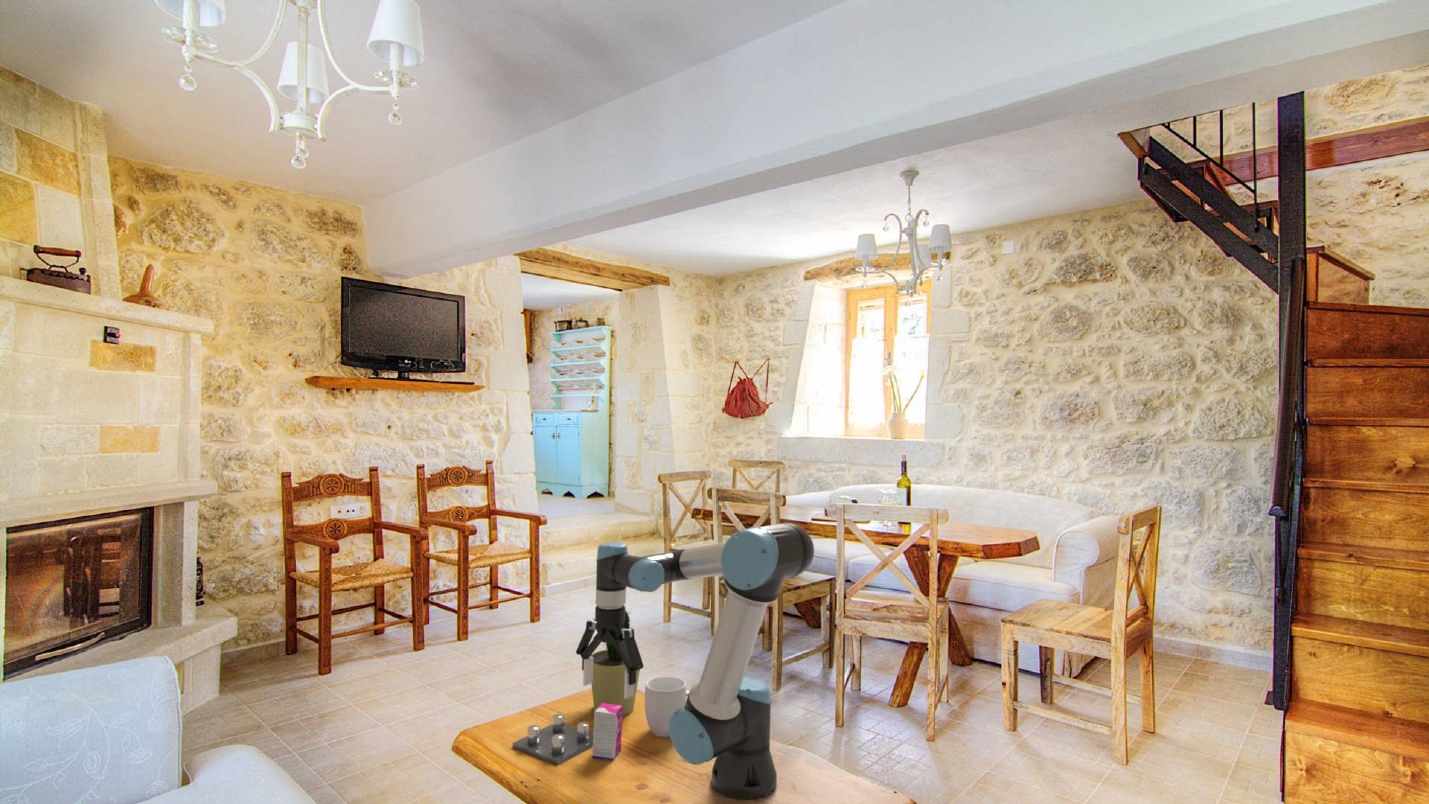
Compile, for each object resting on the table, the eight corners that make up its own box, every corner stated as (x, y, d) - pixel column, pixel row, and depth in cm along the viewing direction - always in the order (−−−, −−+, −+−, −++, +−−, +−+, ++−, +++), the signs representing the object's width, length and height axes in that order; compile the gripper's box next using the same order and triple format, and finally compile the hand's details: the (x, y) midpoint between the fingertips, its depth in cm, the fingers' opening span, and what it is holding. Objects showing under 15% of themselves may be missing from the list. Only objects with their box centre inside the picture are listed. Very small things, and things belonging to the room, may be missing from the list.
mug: (695, 721, 196) (696, 674, 196) (703, 738, 185) (704, 688, 185) (641, 725, 192) (642, 677, 193) (646, 743, 182) (647, 692, 182)
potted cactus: (595, 696, 212) (597, 596, 212) (645, 699, 210) (647, 598, 211) (580, 718, 196) (582, 610, 197) (634, 721, 195) (636, 612, 195)
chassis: (602, 740, 183) (603, 723, 183) (557, 765, 169) (558, 746, 170) (558, 725, 192) (558, 708, 192) (512, 747, 178) (512, 729, 178)
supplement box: (614, 761, 172) (615, 713, 172) (591, 758, 173) (592, 711, 173) (622, 750, 178) (623, 704, 178) (600, 747, 179) (601, 702, 179)
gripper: (659, 610, 173) (656, 697, 172) (584, 594, 186) (581, 674, 186) (639, 617, 166) (637, 707, 166) (563, 599, 180) (561, 683, 180)
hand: (607, 690), depth 176 cm, fingers open, 13 cm apart
